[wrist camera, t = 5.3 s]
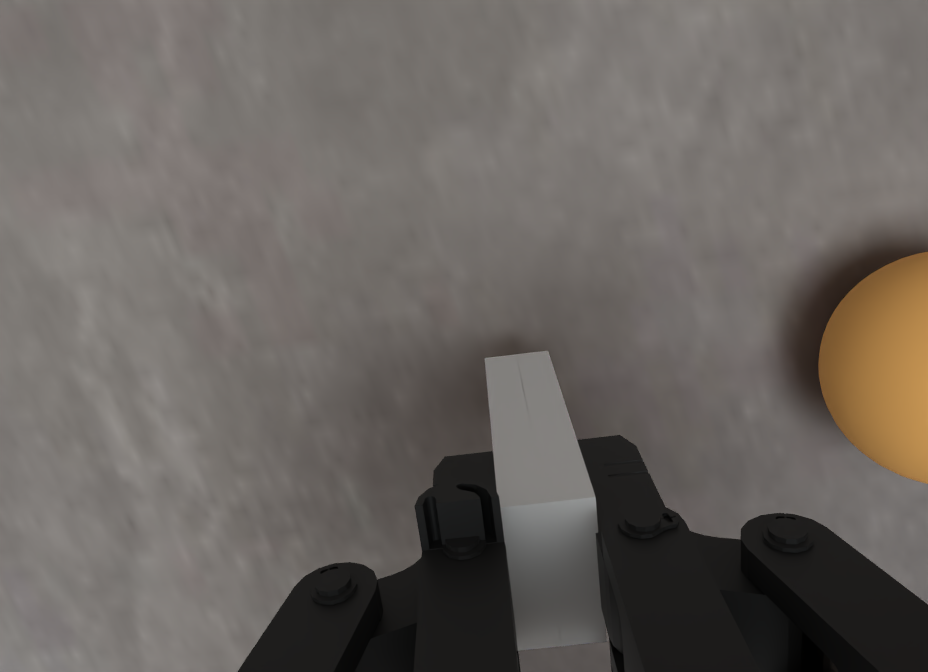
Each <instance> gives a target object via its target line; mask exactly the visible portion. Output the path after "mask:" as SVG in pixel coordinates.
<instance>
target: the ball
mask: <svg viewBox="0 0 928 672" xmlns="http://www.w3.org/2000/svg"><path fill="white" fill-rule="evenodd" d="M818 368H819V380H820V385H821V390H822V394H823V397H824V400H825V403H826V405H827V408H828V410H829V411H830V413H831V415H832V417H833V419H834V421H835V422H836V424H837V426H838V427H839V428H840V430H841V431H842V432H843V434H844V435H845V436H846V437H847V438H848V439H849V441H850V442H851V443H852V444H853V445H854V446H855V447H857V448H858V449H859V450H860V451H861V452H862V453H863V454H865V455H866V456H867V457H869V458H870V459H872V460H873V461H875V462H876V463H877V464H879V465H881V466H883V467H885V468H887V469H889V470H891V471H893V472H895V473H897V474H899V475H901V476H903V477H906V478H909V479H912V480H916V481H919V482H923V483H927V484H928V252H923V253H918V254H914V255H911V256H908V257H904V258H901V259H899V260H897V261H894V262H892V263H890V264H887V265H885V266H884V267H882V268H880V269H878V270H877V271H875V272H873V273H871V274H870V275H868V276H867V277H866V278H864V279H863V280H862V281H860V282H859V283H858V284H857V285H856V286H855V287H854V288H853V289H852V290H850V291H849V293H848V294H847V295H846V296H845V297H844V298H843V299H842V301H841V302H840V303H839V305H838V306H837V308H836V309H835V311H834V312H833V314H832V316H831V318H830V320H829V321H828V323H827V326H826V329H825V331H824V334H823V337H822V341H821V346H820V352H819V363H818Z"/></svg>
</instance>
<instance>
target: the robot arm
mask: <svg viewBox="0 0 928 672" xmlns="http://www.w3.org/2000/svg"><path fill="white" fill-rule="evenodd" d="M485 369H486V380H487V390H488V401H489V412H490V423H491V434H492V445H493V451H491V452H483V453H474V454H465V455H456V456H447V457H444V459H443V460H442V461H441V462H440V464H439V465H438V466H437V467H436V469H435V470H434V478H433V487H432V488H430V489H428V490H427V491H425V492H424V493H423V494H422V495H421V496H419V498H418V500H417V502H416V504H415V510H416V516H417V523H418V529H419V535H420V541H421V547H422V558H421V559H419V560H418V561H417V562H416V563H415V564H414V565H412V566H410V567H409V568H407V569H405V570H403V571H401V572H398V573H396V574H393V575H391V576H387V577H384V578H381V579H378V580H377V578H376V576H375V573H374V571H373V570H371V569H369V568H368V567H366V566H365V565H362V564H357V563H351V562H348V563H336V564H331V565H328V566H325V567H322V568H319V569H317V570H315V571H313V572H312V573H310V574H308V575H306V576H305V577H304V578H303V579H302V580H301V581H300V582H299V583H298V584H297V585H296V586H295V587H294V588H293V590H292V591H291V593H290V594H289V596H288V597H287V599H286V600H285V602H284V603H283V605H282V606H281V608H280V609H279V611H278V612H277V614H276V615H275V617H274V618H273V620H272V621H271V623H270V624H269V626H268V627H267V629H266V630H265V632H264V633H263V635H262V636H261V638H260V639H259V641H258V642H257V644H256V645H255V647H254V648H253V650H252V651H251V653H250V654H249V656H248V657H247V658H246V660H245V661H244V663H243V664H242V666H241V667H240V669H239V670H238V672H520V664H519V656H518V651H522V650H532V649H541V648H551V647H561V646H570V645H580V644H590V643H599V642H607V641H606V628H607V631H608V635H609V642H610V656H611V669H612V672H928V604H926V603H925V602H924V601H922V600H921V599H920V598H918V597H917V596H916V595H915V594H913V593H912V592H911V591H909V590H908V589H907V588H905V587H904V586H903V585H901V584H900V583H899V582H897V581H896V580H895V579H894V578H892V577H891V576H890V575H888V574H887V573H886V572H884V571H883V570H882V569H880V568H879V567H878V566H876V565H875V564H874V563H873V562H871V561H870V560H869V559H867V558H866V557H865V556H863V555H862V554H861V553H859V552H858V551H857V550H856V549H854V548H853V547H852V546H850V545H849V544H848V543H846V542H845V541H844V540H842V539H841V538H840V537H838V536H837V535H836V534H835V533H833V532H832V531H831V530H829V529H828V528H827V527H825V526H823V525H821V524H819V523H818V522H816V521H814V520H812V519H809V518H805V517H802V516H798V515H794V514H784V513H775V514H768V515H760V516H758V517H756V518H754V519H751V520H749V521H748V522H747V523H746V524H745V525H744V526H743V527H742V528H741V540H739V539H728V538H717V537H711V536H704V535H701V534H698V533H694V532H691V531H690V530H689V528H688V526H687V524H686V523H685V521H684V520H683V519H682V518H681V517H680V515H679V514H678V513H676V512H674V511H672V510H670V509H668V508H666V507H665V506H664V503H663V501H662V499H661V497H660V495H659V493H658V491H657V489H656V487H655V485H654V483H653V481H652V478H651V476H650V474H648V470H647V468H646V466H645V464H644V462H643V460H642V458H641V455H640V453H639V451H638V449H637V447H636V446H635V445H634V444H632V443H631V442H629V441H628V440H626V439H625V438H623V437H622V436H620V435H617V436H608V437H599V438H590V439H582V440H577V438H576V435H575V432H574V429H573V426H572V423H571V420H570V417H569V414H568V411H567V407H566V404H565V401H564V398H563V395H562V392H561V389H560V386H559V383H558V380H557V377H556V374H555V371H554V367H553V364H552V361H551V358H550V355H549V352H548V351H540V352H532V353H523V354H515V355H506V356H497V357H489V358H485ZM605 624H606V628H605Z"/></svg>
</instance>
